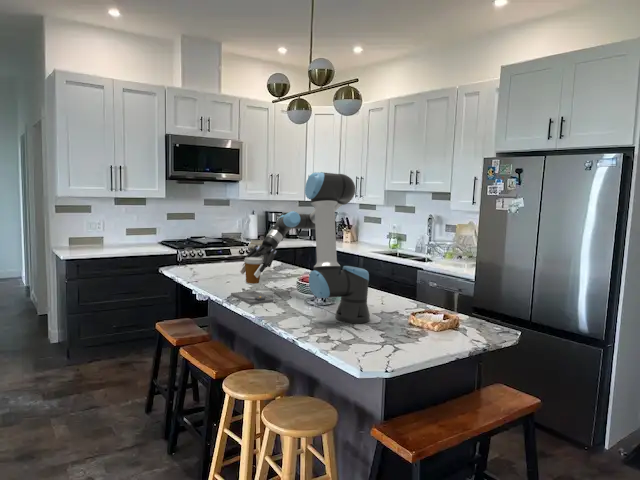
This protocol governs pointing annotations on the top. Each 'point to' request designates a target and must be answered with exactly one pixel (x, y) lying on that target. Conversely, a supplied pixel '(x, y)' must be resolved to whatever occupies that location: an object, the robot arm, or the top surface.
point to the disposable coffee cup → (252, 269)
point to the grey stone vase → (254, 243)
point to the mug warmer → (252, 297)
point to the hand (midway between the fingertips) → (248, 274)
